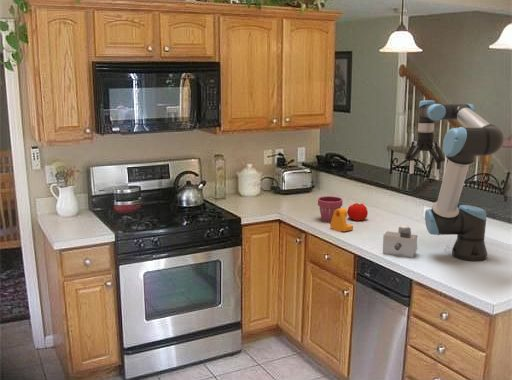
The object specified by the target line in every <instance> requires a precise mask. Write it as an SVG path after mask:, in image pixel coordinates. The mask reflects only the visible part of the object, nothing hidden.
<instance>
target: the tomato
mask: <svg viewBox="0 0 512 380" xmlns="http://www.w3.org/2000/svg"><path fill="white" fill-rule="evenodd" d="M368 214H369V212H368V208H367V206H366V205H365V204H364V203H357V202H356V203H353V204H352V205H351V204H350V205H349V206H348V208H347V217H348V218H349V219H352V220H353V221H355V222H357V221H363V220H366V219H367V217H368Z"/></svg>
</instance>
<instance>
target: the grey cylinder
mask: <svg viewBox="0 0 512 380" xmlns="http://www.w3.org/2000/svg"><path fill="white" fill-rule="evenodd" d="M411 229H412V228H411V227H410V226H409V225H406V224H405V225H404V224H402V225H400V226H399V227H398V229H397V230H398V232H397V233H400V232H401V231H402V230H404V231H411ZM411 232H412V231H411Z"/></svg>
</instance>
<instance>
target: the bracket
mask: <svg viewBox="0 0 512 380" xmlns="http://www.w3.org/2000/svg"><path fill="white" fill-rule="evenodd" d="M347 211H348V209H346V208H345V207H341V208H340V209H336V210H335V211H334V214H333V217H332V220H331V222H329V223H330V228H332V229H333V230H335V231H337V232H348V231H352V230H354V225H353V224H349V223H347V221H346V220H347V219H346V217H348V213H347Z"/></svg>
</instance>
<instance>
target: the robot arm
mask: <svg viewBox="0 0 512 380" xmlns="http://www.w3.org/2000/svg"><path fill="white" fill-rule="evenodd" d="M435 121H457V122H459V123H460V124H461V125H462V126H460V127H452V128H450V129H449V130H447V132H446V133H445V135H444V137H443V141H442V149H441V147H440V146H441V145H440V142H439V141H435V142H434V136H435V135H434V134H435V133H434V131H435ZM417 124H418V125H417V131H418V133H417V141H416V140H413V141H411V145H410V147H409V149H408V151H407V153H406V156H405V157H404V158H405V159H406V160H408V168H409V174H410V175H412V174H414V172H415V160H414V159H415V158H416V156H418V154H419V153H420V152H422V151H423V152H428V153H429V154H430V155H431V156H432V157H433V159H434V160H435V162H434V174H433V175H434V176H435V177H439V172H440V170H441V163H442V162H445V161H446V160H447V163H446V167H445V171H444V174H443V178H442V182H441V186H440V188H439V189H440V190H439V194H438V198H437V200H436V201H435V202H434V203H433V204H432V207H431V208H428V209H425V212H424V221H425V227H426V229H427V232H428V233H429V234H430V235H433V236H434V235H436V236H445V235H449V236H451V235H455V236H456V235H457V236H456V240H455V242H454V245H453V247H452V249H451V255H452V256H453V257H455V258H457V259H460V260H462V261H464V260H465V261H470V262H481V261H485V260H487V259H488V251H487V247H486V244H485V243H486V242H485V235H486V228H487V227H486V225H487V212H486V210H485V209H483V208H482V207H478V206H474V205H470V204H469V205H468V204H460V205H459V202H460V197H461V194H462V191H463V188H464V184H465V181H466V178H467V174H468V171H469V167H470V165H472V164H474V163H475V161H476V158H477V157H485V156H488V157H489V156H492V155H494V154H496V153H497V152H499V151H500V150H501V148H503V145H504V143H505V134H504V131H502V129H501V128H500V127H498V126H497V125H496V124H493V123H489V122H488V121H487V120H486V119H484V118H483V117H481V116H480V115H479V114H478V113H476V109H475V106H474V104H472V103H436V101H435V100H433V99H432V100H431V99H429V100H427V99H426V100H420V101H419V103H418V123H417ZM416 146H417V147H416ZM433 147H434V148H435V149H434V148H433ZM442 152H443V153H442ZM443 154H444V155H445V157H444V155H443ZM445 158H446V160H445Z"/></svg>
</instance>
